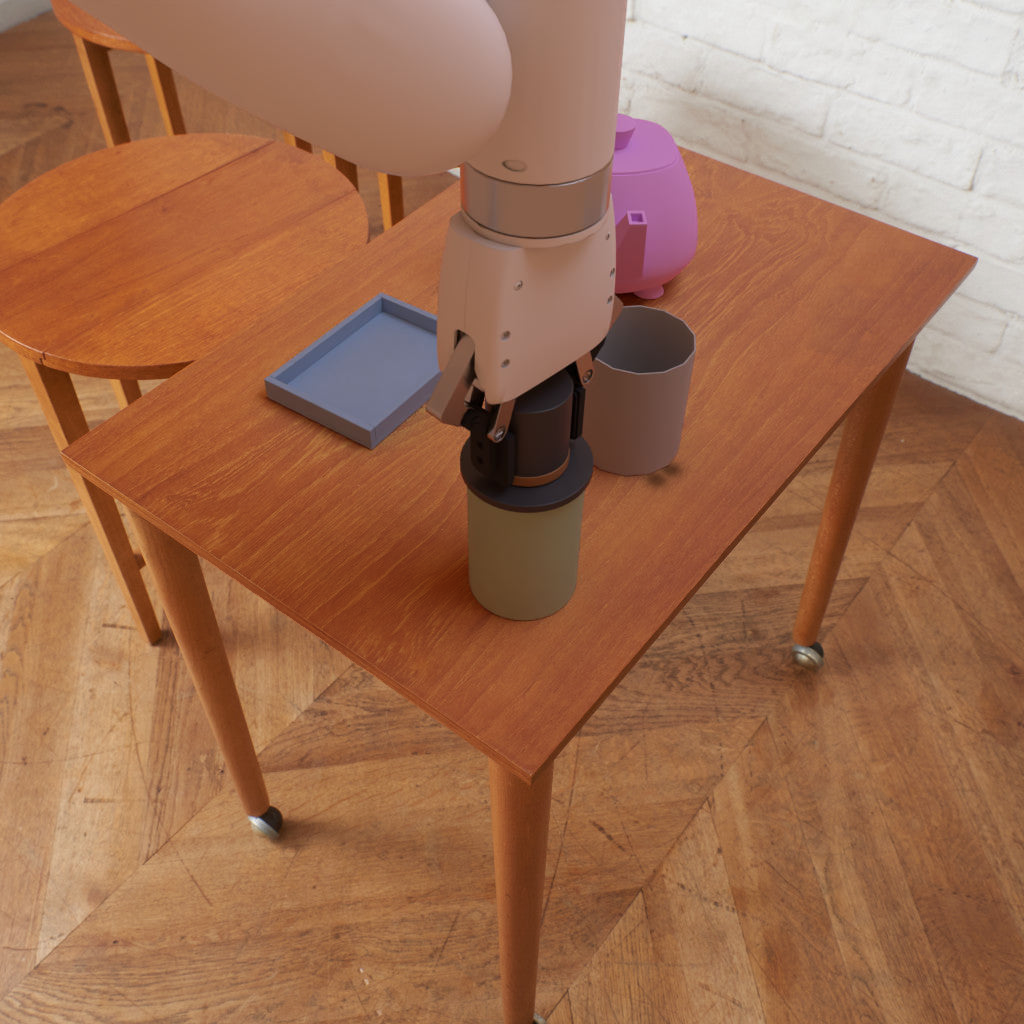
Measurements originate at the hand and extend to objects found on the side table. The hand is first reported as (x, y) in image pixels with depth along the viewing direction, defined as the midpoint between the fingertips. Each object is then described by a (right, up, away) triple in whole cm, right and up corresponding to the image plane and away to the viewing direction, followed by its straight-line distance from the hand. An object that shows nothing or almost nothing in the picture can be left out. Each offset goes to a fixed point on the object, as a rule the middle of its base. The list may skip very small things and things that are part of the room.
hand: (527, 448), depth 65 cm
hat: (0, -1, +1) cm, 1 cm away
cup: (+8, +2, +19) cm, 21 cm away
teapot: (+7, +18, +35) cm, 40 cm away
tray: (-12, +8, +25) cm, 29 cm away
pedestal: (0, -9, +9) cm, 12 cm away
